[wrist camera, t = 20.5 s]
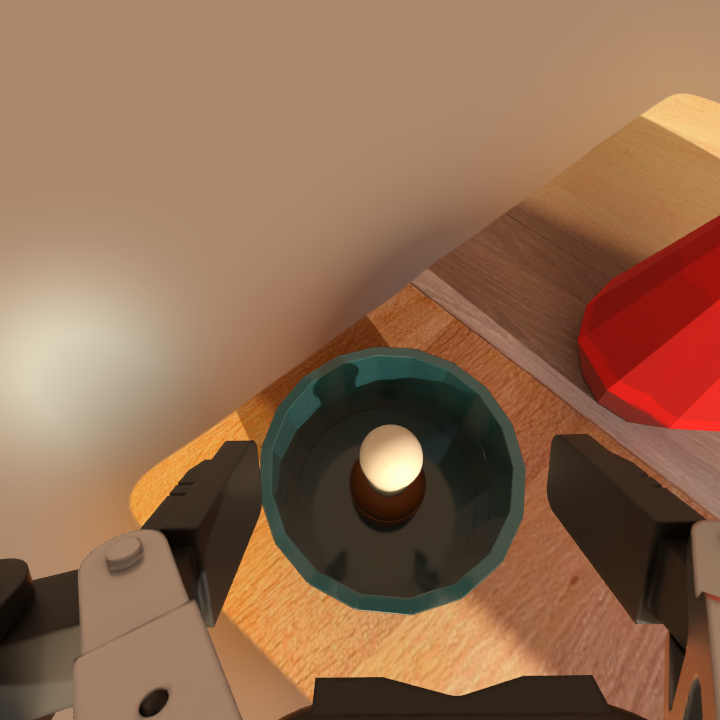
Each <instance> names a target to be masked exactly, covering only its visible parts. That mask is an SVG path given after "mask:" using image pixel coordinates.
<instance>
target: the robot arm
mask: <svg viewBox="0 0 720 720" xmlns="http://www.w3.org/2000/svg"><path fill="white" fill-rule="evenodd" d="M547 496H548V501H549V504H550V507H551V509H552V511H553V512H554V514H555V515H556V516H557V518H558V519H559V520H560V522H561V523H562V525H563V526H564V527H565V529H566V530H567V531H568V533H569V534H570V535H571V537H572V538H573V539H574V541H575V542H576V544H577V545H578V546H579V548H580V549H581V550H582V552H583V553H584V554H585V556H586V557H587V558H588V560H589V561H590V563H591V564H592V565H593V567H594V568H595V569H596V571H597V572H598V573H599V575H600V576H601V578H602V579H603V580H604V582H605V583H606V584H607V586H608V587H609V588H610V590H611V591H612V592H613V594H614V595H615V597H616V598H617V599H618V601H619V602H620V603H621V605H622V606H623V607H624V609H625V610H626V611H627V613H628V614H629V616H630V617H631V618H632V620H633V621H634V622H635V624H664V625H665V627H666V628H667V629H668V634H667V639H666V644H665V674H664V719H663V720H720V521H719V520H706V519H705V518H704V517H703V516H701V515H700V514H699V513H697V512H696V511H695V510H693V509H692V508H691V507H690V506H688V505H687V504H686V503H684V502H683V501H682V500H681V499H679V498H678V497H677V496H675V495H674V494H673V493H671V492H670V491H669V490H668V489H666V488H662V485H661V484H660V483H658V482H657V481H656V480H655V479H653V478H652V477H649V476H648V474H647V473H646V472H644V471H643V470H642V469H640V468H639V467H638V466H636V465H635V464H634V463H633V462H631V461H628V460H626V459H624V458H622V457H620V456H618V455H616V454H614V453H612V452H610V451H608V450H607V449H606V448H605V447H603V446H602V445H601V444H600V443H598V442H597V441H596V440H595V439H593V438H592V437H591V436H589V435H587V434H565V435H556V436H555V437H554V438H553V440H552V445H551V453H550V463H549V472H548V481H547ZM261 506H262V486H261V477H260V468H259V459H258V450H257V445H256V443H255V441H226V442H225V443H224V444H223V445H222V446H221V448H220V449H219V450H218V452H217V453H216V454H215V456H214V457H213V458H212V460H204V461H202V462H201V463H199V464H198V465H196V466H195V467H193V468H192V469H190V470H189V471H188V472H187V473H186V474H185V475H184V477H183V478H182V479H181V480H180V481H179V483H178V485H176V486H175V488H174V489H173V490H172V491H171V492H170V496H167V497H166V499H165V500H164V501H163V502H162V503H161V505H160V506H159V507H158V508H157V509H156V511H155V512H154V513H153V514H152V516H151V517H150V518H149V519H148V520H147V522H146V523H145V524H144V525H143V526H142V528H141V529H140V530H136V531H132V532H128V533H125V534H121V535H119V536H117V537H114V538H112V539H110V540H108V541H106V542H105V543H103V544H101V545H100V546H98V547H97V548H96V549H95V550H93V551H92V552H91V553H90V554H89V555H88V556H87V557H86V558H85V559H84V560H83V562H82V564H81V565H80V568H79V569H78V570H74V571H70V572H65V573H61V574H57V575H53V576H49V577H45V578H40V579H37V580H32V578H31V575H30V572H29V569H28V565H27V563H25V562H24V561H22V560H20V559H1V560H0V720H51V719H52V718H53V716H54V715H55V713H56V712H58V711H61V710H64V709H67V708H70V707H73V716H74V717H73V720H242V717H241V714H240V712H239V710H238V707H237V704H236V702H235V699H234V697H233V694H232V691H231V689H230V686H229V684H228V681H227V679H226V676H225V674H224V671H223V669H222V666H221V663H220V661H219V658H218V656H217V653H216V651H215V648H214V645H213V643H212V640H211V638H210V635H209V633H208V630H207V627H214V626H215V624H216V621H217V618H218V616H219V614H220V612H221V609H222V607H223V604H224V602H225V599H226V597H227V594H228V592H229V589H230V587H231V585H232V582H233V580H234V577H235V575H236V572H237V570H238V567H239V565H240V562H241V560H242V557H243V555H244V552H245V550H246V548H247V545H248V543H249V540H250V538H251V535H252V533H253V530H254V528H255V525H256V523H257V520H258V518H259V515H260V512H261ZM279 720H647V719H645V718H643V717H641V716H639V715H637V714H635V713H632V712H629V711H627V710H624V709H621V708H618V707H616V706H613V705H609V704H607V702H606V700H605V698H604V696H603V694H602V692H601V691H600V689H599V687H598V685H597V683H596V681H595V680H594V678H593V676H592V675H568V676H522V677H519V678H516V679H512V680H509V681H506V682H503V683H500V684H497V685H494V686H491V687H488V688H485V689H481V690H478V691H475V692H472V693H469V694H466V695H462V696H451V695H447V694H443V693H439V692H436V691H432V690H428V689H425V688H421V687H417V686H413V685H410V684H406V683H402V682H399V681H395V680H391V679H387V678H384V677H358V678H316V679H315V687H314V696H313V704H312V705H310V706H307V707H304V708H301V709H299V710H297V711H295V712H292V713H290V714H288V715H286V716H284V717H282V718H281V719H279Z"/></svg>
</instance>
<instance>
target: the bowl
mask: <svg viewBox="0 0 720 720" xmlns="http://www.w3.org/2000/svg"><path fill="white" fill-rule="evenodd" d="M383 425H398V426H401V427H404V428H406V429H407V430H409V431H410V432H411V433H412V434H413V435H414V436H415V437H416V438H417V440H418V441H419V443H420V445H421V448H422V453H423V462H422V468H423V470H424V473H425V478H426V493H425V497H424V499H423V502H422V504H421V505H420V507H419V509H418V510H417V512H416V514H415V515H414V516H413V517H412V518H411V519H410V520H409V521H408V522H407V523H405V524H403V525H402V526H399V527H396V528H390V529H385V528H379V527H376V526H373V525H371V524H369V523H368V522H366V521H365V520H364V519H363V518H362V517H361V516H360V515H359V514H358V512H357V510H356V509H355V507H354V504H353V501H352V497H351V493H350V488H349V477H350V472H351V469H352V467H353V465H354V463H355V461H356V460H357V458H358V457H359V456H360V449H361V445H362V443H363V441H364V439H365V438H366V436H367V435H368V434H369V433H370V432H371V431H372V430H374V429H376V428H378V427H380V426H383ZM525 475H526V468H525V464H524V461H523V458H522V454H521V451H520V448H519V444H518V441H517V438H516V435H515V431H514V428H513V425H512V423H511V421H510V420H509V418H508V417H507V416H506V414H505V413H504V411H503V410H502V409H501V407H500V406H499V404H498V403H497V402H496V400H495V399H494V397H493V396H492V395H491V393H490V392H489V390H488V389H487V388H486V387H485V386H484V385H482V384H481V383H480V382H478V381H477V380H476V379H474V378H473V377H472V376H470V375H469V374H468V373H466V372H465V371H464V370H462V369H461V368H460V367H458V366H457V365H456V364H454V363H452V362H450V361H447V360H445V359H442V358H439V357H436V356H434V355H431V354H428V353H425V352H423V351H420V350H417V349H411V348H392V347H372V348H368V349H364V350H360V351H356V352H352V353H348V354H344V355H340V356H338V357H335V358H334V359H332V360H330V361H329V362H327V363H325V364H324V365H322V366H321V367H319V368H317V369H316V370H314V371H312V372H311V373H309V374H307V375H306V376H304V377H303V378H302V379H301V380H300V381H299V383H298V384H297V385H296V386H295V387H294V389H293V390H292V391H291V392H290V393H289V394H288V396H287V397H286V398H285V399H284V400H283V401H282V403H281V404H280V405H279V406H278V407H277V409H276V412H275V414H274V417H273V419H272V422H271V424H270V427H269V430H268V432H267V435H266V437H265V440H264V442H263V445H262V447H261V459H260V477H261V486H262V506H263V509H264V512H265V515H266V518H267V521H268V524H269V527H270V530H271V533H272V536H273V539H274V542H275V544H276V545H277V546H278V548H279V549H280V550H281V551H282V553H283V554H284V555H285V556H286V557H287V559H288V560H289V561H290V562H291V564H292V565H293V566H294V567H295V569H296V570H297V571H298V572H299V573H300V575H301V576H302V577H303V578H304V580H305V581H306V582H307V583H309V585H311V586H313V587H315V588H316V589H318V590H320V591H322V592H324V593H325V594H327V595H329V596H331V597H333V598H335V599H336V600H338V601H340V602H342V603H344V604H345V605H347V606H349V607H351V608H353V609H355V610H356V609H357V610H358V611H367V612H377V613H387V614H398V615H408V616H410V615H415V614H418V613H421V612H424V611H427V610H430V609H434V608H437V607H440V606H443V605H446V604H449V603H452V602H455V601H458V600H461V599H462V598H464V597H465V596H467V595H468V594H469V593H470V592H471V591H472V590H473V589H474V588H475V587H476V586H478V585H479V584H480V583H481V582H482V581H483V580H484V579H485V578H486V577H487V576H489V575H490V574H491V573H492V572H493V571H494V570H495V569H496V568H497V567H498V566H500V565H501V563H502V562H503V560H504V558H505V556H506V554H507V552H508V549H509V547H510V545H511V543H512V541H513V538H514V536H515V534H516V532H517V530H518V528H519V525H520V523H521V521H522V519H523V514H524V494H525Z"/></svg>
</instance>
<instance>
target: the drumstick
mask: <svg viewBox="0 0 720 720" xmlns="http://www.w3.org/2000/svg"><path fill="white" fill-rule="evenodd" d="M422 462H423V453H422V448H421V445H420V443H419V441H418V440H417V438H416V437H415V436H414V435H413V434H412V433H411V432H410V431H409V430H407V429H406V428H404V427H401V426H398V425H383V426H380V427H378V428H376V429H374V430H372V431H371V432H370V433H369V434H368V435H367V436H366V438H365V439H364V441H363V443H362V445H361V449H360V456H359V457H358V458H357V460H356V461H355V463H354V465H353V467H352V469H351V472H350V477H349V488H350V493H351V497H352V501H353V504H354V507H355V509H356V510H357V512H358V514H359V515H360V516H361V517H362V518H363V519H364V520H365V521H366V522H368V523H369V524H371V525H373V526H376V527H379V528H385V529H390V528H396V527H399V526H402V525H403V524H405V523H407V522H408V521H409V520H410V519H411V518H412V517H413V516H414V515H415V514H416V512H417V510H418V509H419V507H420V505H421V504H422V502H423V499H424V497H425V493H426V478H425V473H424V470H423V468H422Z"/></svg>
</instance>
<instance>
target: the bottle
mask: <svg viewBox="0 0 720 720" xmlns="http://www.w3.org/2000/svg"><path fill="white" fill-rule="evenodd" d="M578 347H579V354H580V361H581V368H582V375H583V378H584V380H585V382H586V384H587V385H588V387H589V389H590V391H591V392H592V394H593V396H594V398H595V399H596V401H597V403H598V404H600V405H601V406H603V407H605V408H606V409H608V410H609V411H611V412H612V413H614V414H615V415H617V416H619V417H620V418H622V419H623V420H625V421H626V422H631V423H638V424H644V425H651V426H657V427H663V428H671V429H688V430H706V431H720V216H718V217H716V218H715V219H713V220H711V221H710V222H708V223H706V224H704V225H703V226H701V227H699V228H698V229H696V230H694V231H693V232H691V233H689V234H688V235H686V236H684V237H683V238H681V239H679V240H677V241H676V242H674V243H672V244H671V245H669V246H667V247H666V248H664V249H662V250H661V251H659V252H657V253H656V254H654V255H652V256H650V257H649V258H647V259H645V260H644V261H642V262H640V263H639V264H637V265H635V266H634V267H632V268H630V269H629V270H627V271H625V272H623V273H622V274H620V275H618V276H617V277H615V278H613V279H612V280H611V281H610V282H609V283H608V284H607V285H606V286H605V287H604V288H603V289H602V290H601V291H600V292H599V293H598V294H597V295H596V296H595V297H594V298H593V299H592V300H591V301H590V302H589V303H588V304H587V305H586V309H585V313H584V317H583V321H582V325H581V329H580V333H579V337H578Z"/></svg>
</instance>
